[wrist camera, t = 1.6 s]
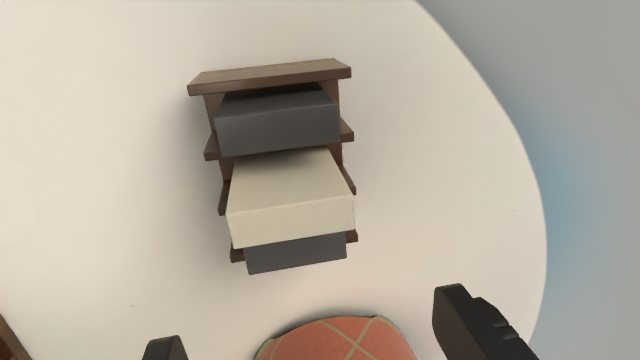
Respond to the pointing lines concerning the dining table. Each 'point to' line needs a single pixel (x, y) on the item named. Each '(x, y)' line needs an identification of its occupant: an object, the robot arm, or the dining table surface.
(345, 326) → the planter
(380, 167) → the dining table surface
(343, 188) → the white box
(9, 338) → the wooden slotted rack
